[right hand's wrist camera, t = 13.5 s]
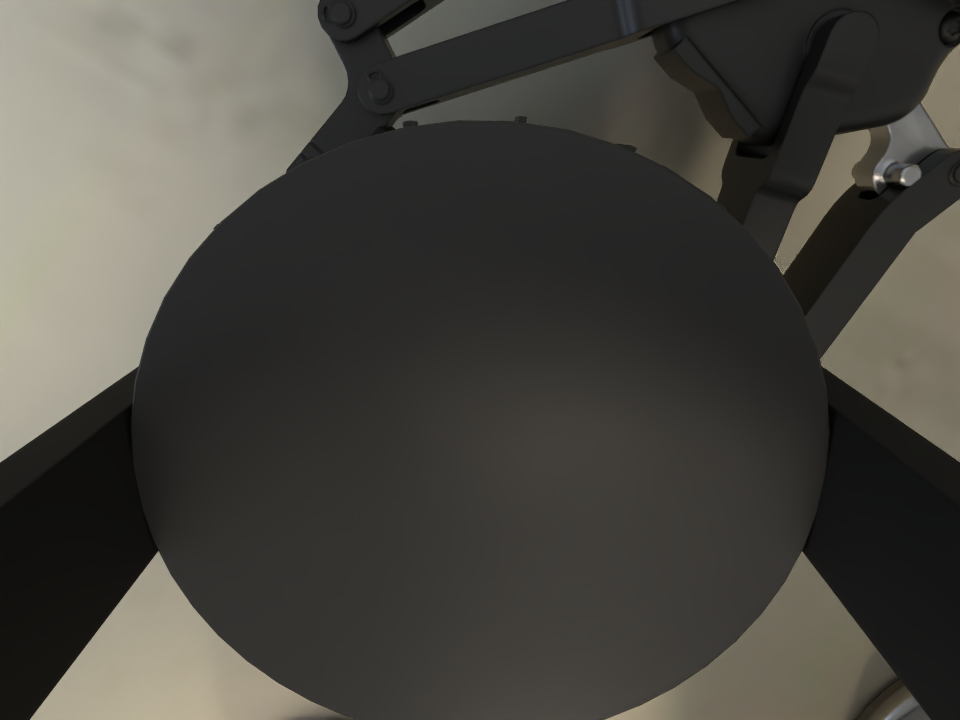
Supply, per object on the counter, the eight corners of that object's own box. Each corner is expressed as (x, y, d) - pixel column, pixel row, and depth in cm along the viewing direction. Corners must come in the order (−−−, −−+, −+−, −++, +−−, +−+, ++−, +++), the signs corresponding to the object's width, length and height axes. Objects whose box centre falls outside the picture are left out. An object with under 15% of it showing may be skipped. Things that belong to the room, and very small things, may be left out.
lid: (277, 707, 14) (252, 778, 12) (74, 189, 10) (3, 200, 9) (790, 635, 13) (830, 700, 12) (778, 50, 9) (836, 34, 8)
